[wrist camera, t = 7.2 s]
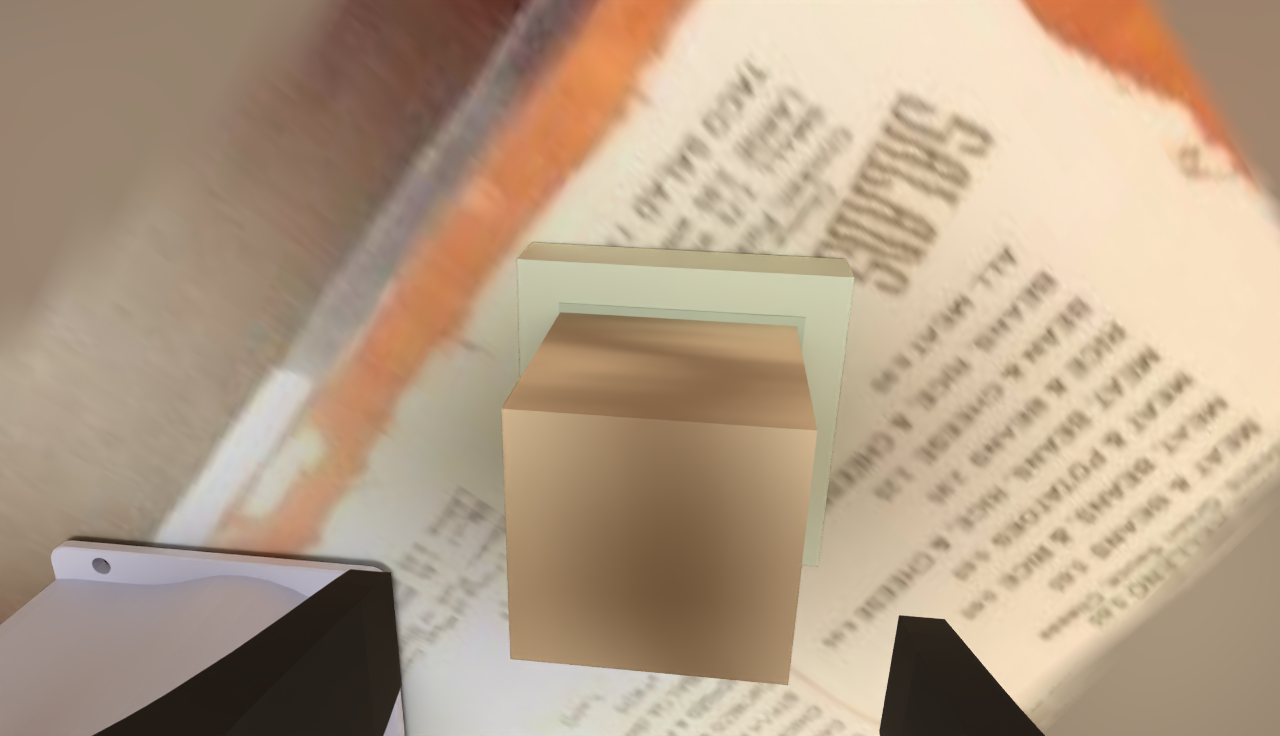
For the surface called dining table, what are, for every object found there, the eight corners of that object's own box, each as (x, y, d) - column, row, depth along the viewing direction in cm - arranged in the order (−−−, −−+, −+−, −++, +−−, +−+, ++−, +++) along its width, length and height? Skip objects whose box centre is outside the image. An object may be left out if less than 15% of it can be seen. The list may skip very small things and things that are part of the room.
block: (561, 514, 20) (510, 659, 16) (560, 311, 18) (501, 408, 14) (775, 531, 20) (787, 684, 15) (796, 325, 18) (817, 430, 13)
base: (537, 509, 22) (523, 543, 21) (532, 242, 20) (516, 259, 18) (813, 531, 22) (818, 568, 20) (846, 259, 19) (854, 278, 18)
